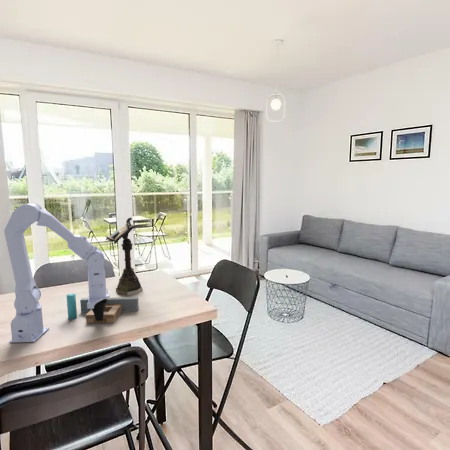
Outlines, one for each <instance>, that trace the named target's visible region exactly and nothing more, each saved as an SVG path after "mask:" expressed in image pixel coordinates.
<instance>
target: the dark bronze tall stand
mask: <svg viewBox="0 0 450 450" xmlns="http://www.w3.org/2000/svg"><path fill="white" fill-rule="evenodd" d="M132 220H133V217H129V218H127V219H126V221H125V223H123V225H122V226H120V228H118V229H117V230H116V231H114V232H113V233H112V234H111V235H109V236H108V235H106V236H105V238H106V239H105V241H109V242H113V243H114V244H117V243H118V242H119V240H121V239H123V240H122V243H121V245H120V246H121V247H122V251H123V252H124V264H125V267H124V268H123V269H122V270H123V272H122V274H121V276H119V279H118V284H117V286H116V288H115V292H116V294H117V295H119V296H131V295H137V294H139V293H141V292H142V291H143V286H142V285H141V282H140V280H139V277H138V276H137V274H136V273H135V270H134V268H133V267H132V264H131V263H132V262H131V261H132V258H131V257H132V256H131V251H132V250H133V246H134V244H133V243H132V240H131V239H130V238H128V237H129V233H131V231H132V230H133V229H134V228H135V227H136V225H135V224H131V221H132Z"/></svg>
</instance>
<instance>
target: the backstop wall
mask: <svg viewBox="0 0 450 450" xmlns="http://www.w3.org/2000/svg"><path fill="white" fill-rule="evenodd" d="M88 298H89V297H81V299H80V300H79V302H80V312H81V313H88V312H89V311H90V310H91V309H87V303H88ZM105 299H107V303H106V304H122V312H138V311H139V297H138V296H132V297H131V296H129V297H127V296H126V297H123V296H121V297H120V296H119V297H116V296H115V297H109V298H105Z"/></svg>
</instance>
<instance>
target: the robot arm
mask: <svg viewBox="0 0 450 450" xmlns="http://www.w3.org/2000/svg"><path fill="white" fill-rule="evenodd" d="M36 222H37V223H36ZM35 223H36V226H39V227H47V228H48V229H49V230H51V231H52V232H54V233H55V234H57V236H59V237H61V239H63V240H64V241H65V242H67V248H68V249H69V250H71V251H72V252H73V253H74V254H75V255H77V256H78V257H79V258H80V259H82V260H85V263H86V265H87V268H88V269H87V282H88V283H87V286H88V287H87V288H88V297H87V298H88V303H87V309H92V311H93V313H94V316H95V319H96V321H102V320H103V314H104V309H105V305H106V303H107V299H105V298H111V295H110V294H108V293H109V292H108V288H107V284H106V283H107V282H106V269H105V263H106V259H105V255H104V252H103V251H102V250H101V249H100V248H98V246H96V245H93V244H92V243H91V242H90V241H88V240H87V239H88V237H87V236H86V235H81V234H74V233H73V232H72V231H71V230H70V229H68V228H67V227H66V226H65V225H64V224H63V223H62V222H61V221H59V219H57V218H56V217H55V216H54V215H53V214H52V213H50V212H49V211H48V210H47V209H45V208H42V206H41V205H39V204H38V203H36V202H28V203H26V204H22V205H20V206H18V207H17V208H16V209H14V211H12V212H11V214H10V218H9V219H8V221H7V224H6V226H5V227H4V230H3V231H4V237H5V241H6V245H7V251H8V255H9V259H10V263H11V264H10V265H11V268H12V273H13V278H14V281H15V282H14V283H15V290H14V293H15V300H14V302H13V306H14V307H13V308H14V309H15V315H14V318H12V320H11V321H10V333H11V339H10V340H9V343H34V342H36V341H37V340H38V339H39V338H41V337H42V336H43V335H44V334H46V332H48V331H49V330H50V327H44V321H43V310H42V309H43V308H42V305H41V303H40V302H39V301H40V299H41V298H42V297H41V296H42V292H41V290H40V289H39V287H38V286H37V284H36V280H34V277H33V272H32V267H31V263H30V257H29V253H28V248H27V245H26V239H25V235H24V233H25V232H26V231H27V230H28V229H29V227H30V226H31V225H33V224H35Z"/></svg>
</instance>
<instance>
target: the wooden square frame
mask: <svg viewBox="0 0 450 450" xmlns="http://www.w3.org/2000/svg"><path fill="white" fill-rule="evenodd" d="M122 312H123V311H122V304H106V305H105V309H104V314H103V320H102V321H96V319H95V316H94V313H93V311H92V309H91V310H90V311H89V312H86V314H85V323H86V324H91V323H92V324H95V323H97V324H98V323H99V324H100V323H101V324H102V323H103V324H104V323H106V324H107V323H115V322H116V321H117V319H118V317H119V316H120V314H121V313H122Z"/></svg>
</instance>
